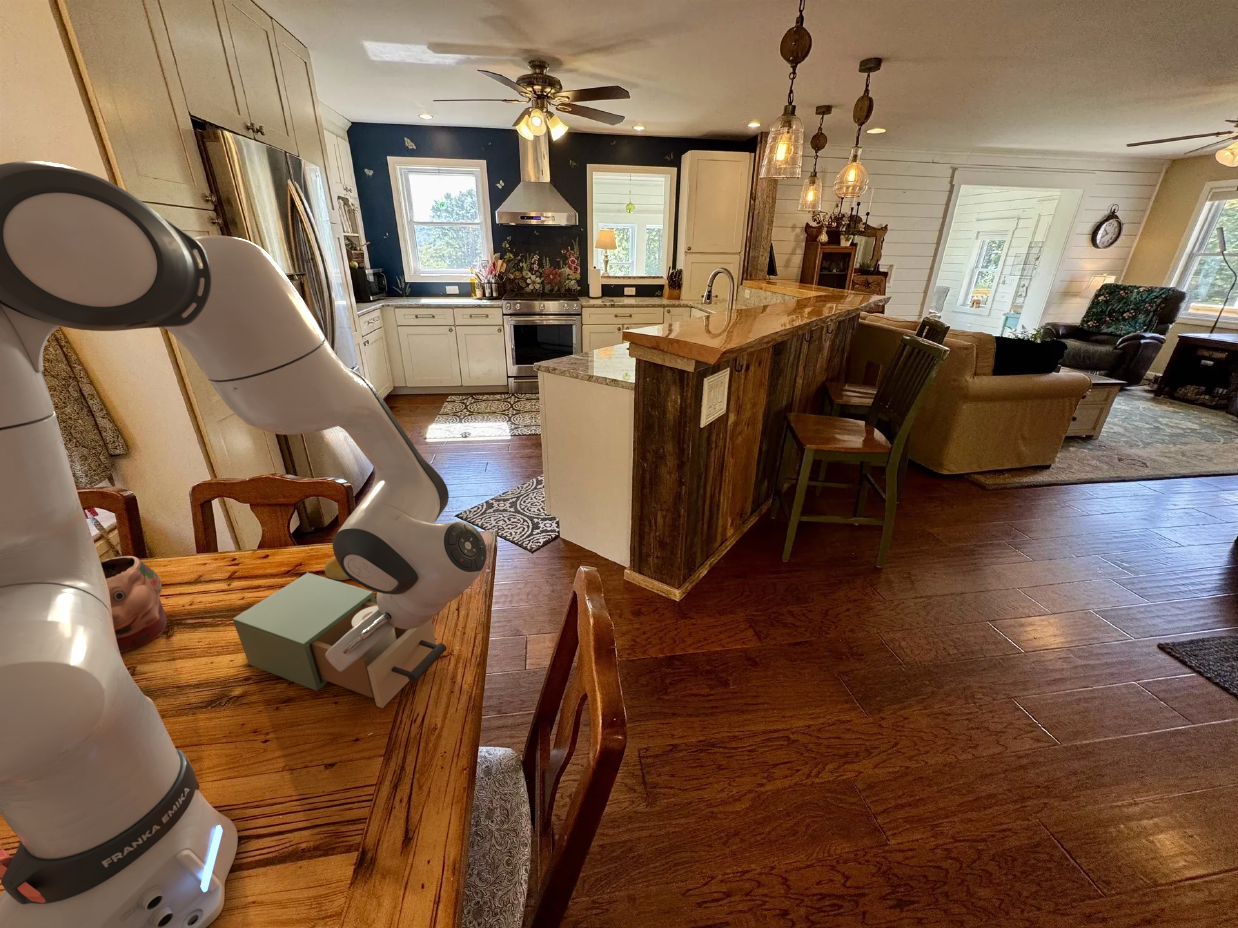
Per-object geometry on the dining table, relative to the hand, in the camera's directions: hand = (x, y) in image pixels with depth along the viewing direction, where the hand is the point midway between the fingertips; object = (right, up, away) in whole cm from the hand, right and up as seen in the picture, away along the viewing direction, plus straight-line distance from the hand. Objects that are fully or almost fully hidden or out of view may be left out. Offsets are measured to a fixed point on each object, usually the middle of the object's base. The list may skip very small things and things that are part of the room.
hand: (372, 631), depth 79 cm
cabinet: (-13, -6, +8) cm, 16 cm away
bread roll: (-19, +3, +29) cm, 35 cm away
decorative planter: (-49, -4, +11) cm, 50 cm away
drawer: (+2, -7, +2) cm, 8 cm away
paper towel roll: (+1, -5, +2) cm, 5 cm away
